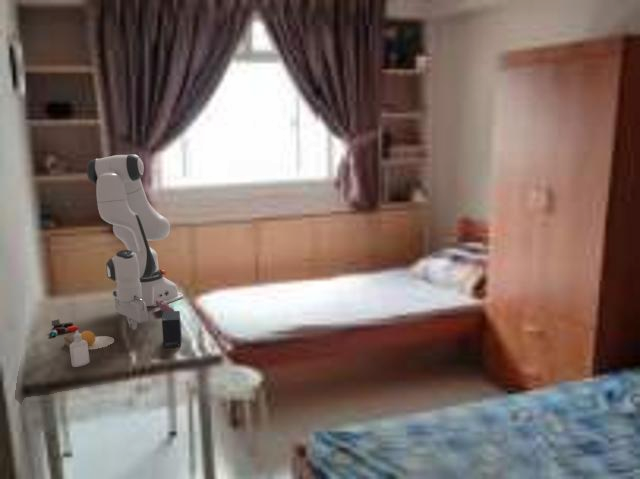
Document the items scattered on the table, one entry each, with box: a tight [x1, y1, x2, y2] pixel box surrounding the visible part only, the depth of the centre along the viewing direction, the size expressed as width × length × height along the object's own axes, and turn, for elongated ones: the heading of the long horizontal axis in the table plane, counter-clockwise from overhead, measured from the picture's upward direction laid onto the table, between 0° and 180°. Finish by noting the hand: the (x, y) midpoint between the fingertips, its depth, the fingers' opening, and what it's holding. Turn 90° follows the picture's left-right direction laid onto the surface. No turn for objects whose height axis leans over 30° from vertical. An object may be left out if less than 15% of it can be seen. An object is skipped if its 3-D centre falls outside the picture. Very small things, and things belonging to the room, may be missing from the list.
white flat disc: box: [88, 335, 115, 351], centre depth 231 cm, size 13×13×1 cm
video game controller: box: [155, 299, 175, 313], centre depth 264 cm, size 10×5×7 cm, turn 28°
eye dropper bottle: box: [69, 329, 90, 368], centre depth 210 cm, size 4×6×12 cm
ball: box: [80, 330, 96, 346], centre depth 228 cm, size 6×6×6 cm
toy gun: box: [49, 318, 79, 338], centre depth 244 cm, size 10×12×5 cm
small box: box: [161, 310, 182, 349], centre depth 228 cm, size 11×6×10 cm, turn 12°
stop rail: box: [63, 334, 74, 348], centre depth 226 cm, size 2×14×3 cm, turn 42°
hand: (133, 328), depth 240 cm, fingers closed
